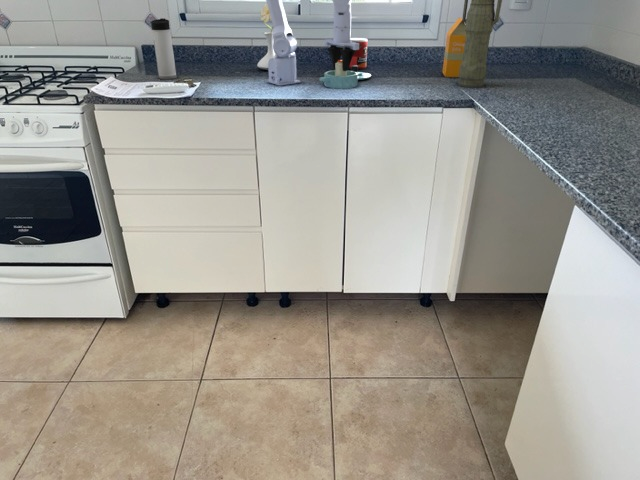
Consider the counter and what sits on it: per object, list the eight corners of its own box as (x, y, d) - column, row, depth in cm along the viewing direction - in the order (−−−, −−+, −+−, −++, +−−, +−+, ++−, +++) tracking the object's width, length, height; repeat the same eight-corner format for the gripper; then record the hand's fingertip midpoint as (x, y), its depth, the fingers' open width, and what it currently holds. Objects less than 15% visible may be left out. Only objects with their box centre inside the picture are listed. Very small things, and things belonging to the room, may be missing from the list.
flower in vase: (253, 68, 199) (249, 0, 187) (279, 66, 203) (277, -1, 191) (264, 73, 189) (260, 2, 177) (291, 71, 193) (289, 1, 181)
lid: (377, 78, 181) (378, 66, 179) (352, 82, 175) (352, 70, 172) (355, 73, 190) (356, 61, 188) (330, 77, 183) (330, 65, 181)
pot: (370, 84, 171) (370, 73, 169) (331, 91, 163) (332, 78, 161) (348, 79, 180) (349, 68, 178) (311, 85, 171) (311, 73, 169)
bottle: (340, 84, 168) (340, 61, 165) (332, 82, 171) (333, 60, 167) (348, 83, 170) (349, 60, 167) (341, 81, 173) (342, 58, 169)
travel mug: (179, 76, 184) (171, 18, 174) (173, 79, 178) (164, 20, 169) (163, 75, 185) (154, 18, 175) (156, 79, 179) (147, 19, 169)
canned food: (359, 70, 196) (360, 40, 191) (343, 67, 201) (344, 39, 195) (369, 67, 202) (371, 38, 196) (353, 65, 206) (354, 37, 201)
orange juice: (462, 72, 191) (469, 17, 182) (465, 77, 184) (473, 19, 174) (441, 72, 192) (448, 16, 182) (444, 76, 184) (451, 19, 175)
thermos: (485, 89, 166) (504, -29, 149) (450, 85, 170) (465, -29, 153) (490, 84, 173) (509, -29, 156) (456, 81, 177) (471, -29, 160)
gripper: (366, 28, 160) (364, 71, 166) (335, 24, 169) (335, 65, 176) (351, 29, 155) (349, 73, 162) (320, 26, 165) (320, 68, 171)
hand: (341, 69), depth 169 cm, fingers closed on bottle, 4 cm apart
